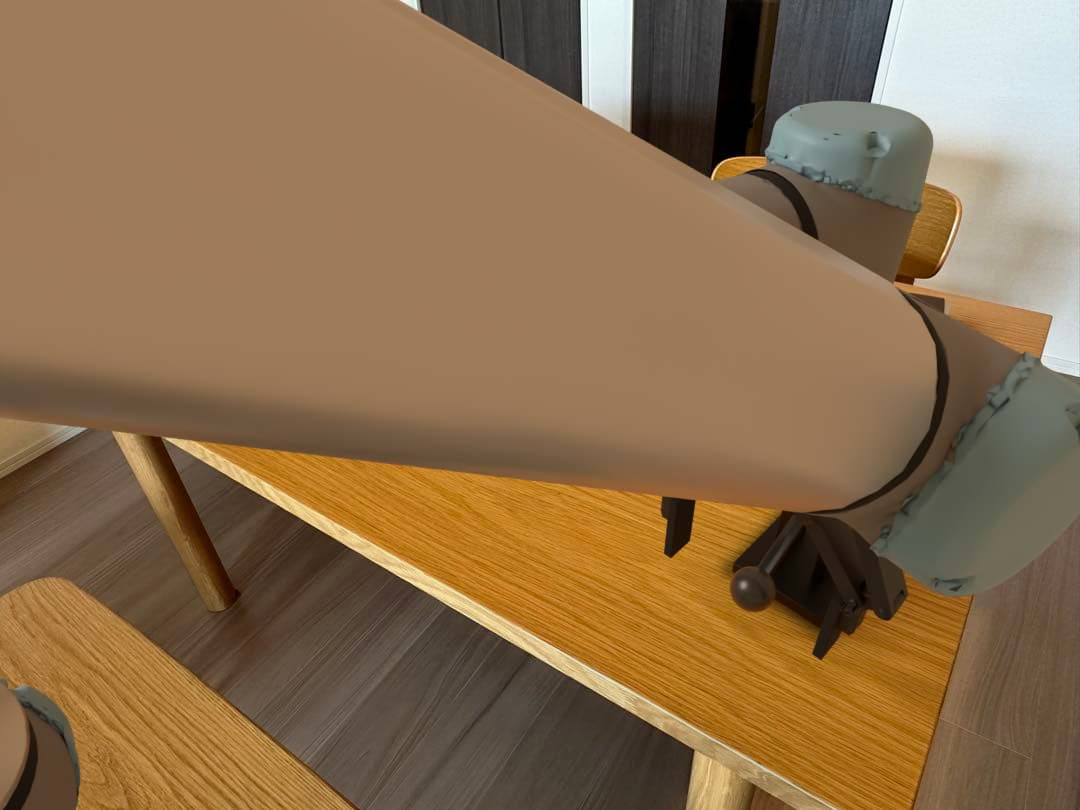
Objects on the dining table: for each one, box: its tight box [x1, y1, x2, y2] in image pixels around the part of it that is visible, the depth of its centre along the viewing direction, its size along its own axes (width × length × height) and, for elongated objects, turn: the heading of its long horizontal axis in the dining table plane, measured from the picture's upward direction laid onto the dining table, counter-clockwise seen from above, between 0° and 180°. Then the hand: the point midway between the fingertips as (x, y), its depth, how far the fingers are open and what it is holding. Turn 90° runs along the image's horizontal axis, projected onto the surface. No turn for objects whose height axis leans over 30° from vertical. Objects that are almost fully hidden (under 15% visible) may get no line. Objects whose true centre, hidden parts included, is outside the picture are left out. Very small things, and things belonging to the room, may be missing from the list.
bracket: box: [731, 510, 854, 629], centre depth 61 cm, size 11×9×14 cm
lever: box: [729, 515, 805, 613], centre depth 57 cm, size 15×4×4 cm, turn 134°
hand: (745, 593), depth 55 cm, fingers open, 13 cm apart
